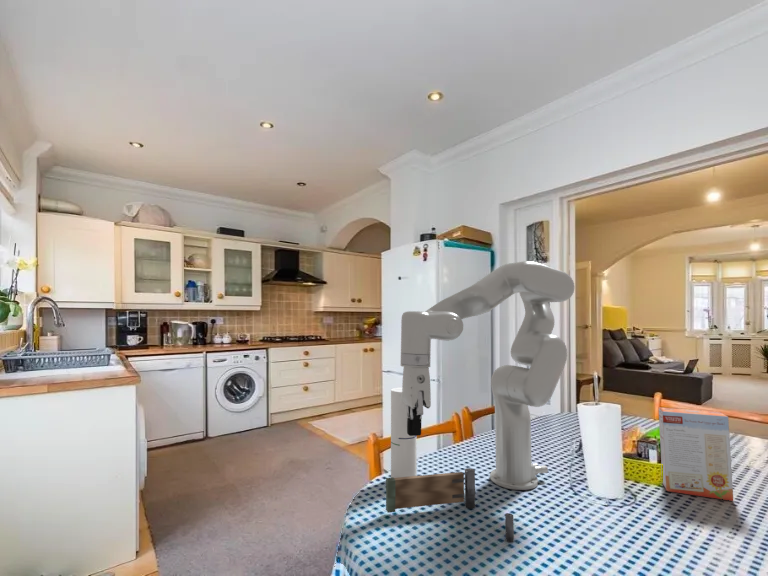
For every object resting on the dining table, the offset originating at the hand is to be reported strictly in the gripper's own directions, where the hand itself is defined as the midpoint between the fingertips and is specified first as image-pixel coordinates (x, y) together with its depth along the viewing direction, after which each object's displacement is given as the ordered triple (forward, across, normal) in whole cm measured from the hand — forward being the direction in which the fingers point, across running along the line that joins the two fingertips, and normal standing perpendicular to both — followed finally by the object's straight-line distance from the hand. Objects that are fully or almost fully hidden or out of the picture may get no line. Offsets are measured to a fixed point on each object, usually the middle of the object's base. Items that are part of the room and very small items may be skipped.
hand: (414, 434), depth 99 cm
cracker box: (+15, -10, -74) cm, 76 cm away
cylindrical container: (+16, +12, -1) cm, 20 cm away
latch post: (+16, -20, -15) cm, 29 cm away
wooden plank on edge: (+15, -5, -2) cm, 16 cm away
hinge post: (+16, -5, -13) cm, 21 cm away
